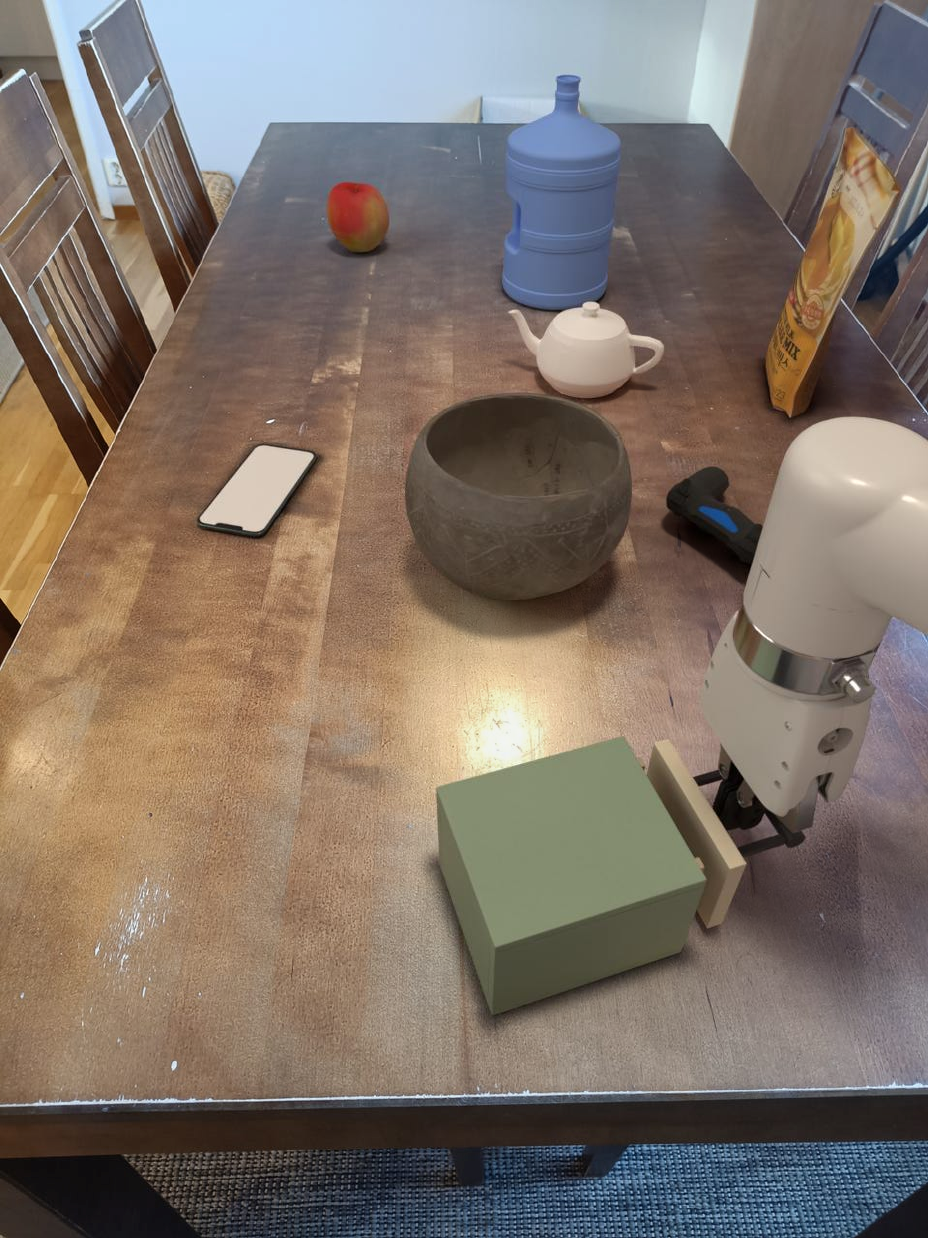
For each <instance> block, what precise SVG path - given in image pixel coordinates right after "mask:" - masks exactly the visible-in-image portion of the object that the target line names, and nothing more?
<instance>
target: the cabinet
mask: <svg viewBox="0 0 928 1238" xmlns="http://www.w3.org/2000/svg"><path fill="white" fill-rule="evenodd" d="M637 758H638V757H637V756H636V754H635V753H634V751H633V749H632V747H631V745H630V743H629V742H628V741H627V739H626V737H625V736H624V735H622V736H618V737H614V738H611V739H607V740H604V741H601V742H600V741H599V742H596V743H593V744H588V745H585V746H581V747H578V748H574V749H571V750H567V751H563V752H560V753H555V754H552V755H549V756H544V757H542V758H537V759H535V760H531V761H527V762H524V763H520V764H515V765H513V766H509V767H505V768H501V769H498V770H494V771H490V772H487V773H482V774H479V775H476V776H471V777H468V778H465V779H460V780H457V781H454V782H450V783H446V784H442V785H439V786H437V787H435V790H436V791H435V799H436V800H435V801H436V821H437V841H438V842H437V843H438V844H437V845H438V862H439V867H440V871H441V872H442V873H441V874H442V875H443V879H444V881H445V885H446V888H447V891H448V893H449V895H450V898H451V902H452V904H453V907H454V911H455V913H456V916H457V919H458V923H459V925H460V927H461V930H462V934H463V937H464V939H465V942H466V945H467V948H468V950H469V954H470V957H471V959H472V962H473V965H474V968H475V971H476V973H477V977H478V980H479V982H480V985H481V989H482V991H483V993H484V994H483V995H484V997H485V1001H486V1003H487V1006H488V1008H489V1011H490V1015H491V1016H496V1015H498V1014H499V1015H500V1014H502V1013H505V1012H509V1011H511V1010H513V1009H517V1008H519V1007H523V1006H525V1005H528V1004H531V1003H534V1002H537V1001H540V1000H544V999H545V998H549V997H552V996H556V995H558V994H561V993H564V992H567V991H570V990H573V989H576V988H580V987H581V986H585V985H589V984H591V983H594V982H597V981H600V980H603V979H606V978H609V977H611V976H615V975H618V974H620V973H624V972H626V971H629V970H632V969H635V968H639V967H641V966H644V965H647V964H650V963H653V962H656V961H659V960H661V959H665V958H667V957H671V956H673V955H677V954H679V953H682V950H683V948H684V945H685V942H686V941H687V937H688V935H689V932H690V929H691V926H692V923H693V920H694V917H695V915H696V912H697V907H698V904H699V901H700V899H701V896H702V893H703V890H704V887H705V884H706V881H707V879H706V877H705V875H704V874H703V872H702V870H701V868H700V867H699V865H698V863H697V861H696V860H695V858H694V856H693V855H692V853H691V851H690V849H689V848H688V846H687V844H686V842H685V841H684V839H683V837H682V836H681V834H680V832H679V830H678V829H677V827H676V825H675V823H674V822H673V820H672V818H671V816H670V815H669V813H668V811H667V810H666V808H665V806H664V804H663V803H662V801H661V799H660V797H659V796H658V794H657V792H656V791H655V789H654V787H653V785H652V784H651V782H650V780H649V778H648V777H647V772H645V770H643V768H642V766H641V765H640V763H639V761H638V759H637Z"/></svg>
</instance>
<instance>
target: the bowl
mask: <svg viewBox="0 0 928 1238" xmlns="http://www.w3.org/2000/svg"><path fill="white" fill-rule="evenodd" d="M632 497H633V478H632V470H631V464H630V459H629V455H628V451H627V449H626V446H625V443H624V441H623V438H622V435H621V433H620V432H619V430H618V429H617V427H615V425H614V424H613V423H612V422H611V421H609V420H607V418H606V417H604V416H603V415H602V414H600V413H599V412H597V410H594V409H593V408H591V407H589V406H587V405H585V404H582V403H580V402H577V401H574V400H572V399H567V398H564V397H561V396H556V395H552V394H544V393H536V392H524V391H523V392H503V393H493V394H486V395H481V396H475V397H471V398H469V399H465V400H463V401H459V402H457V403H454V404H452V405H450V406H448V407H446V408H443V409H442V410H440V411H439V412H438V413H437V414H435V415H433V416H432V417H431V418H430V419H429V420H428V421H427V422H426V424H424V426H423V427H422V429H421V430H420V432H419V434H418V435H417V437H416V439H415V442H414V445H413V447H412V450H411V453H410V457H409V461H408V464H407V468H406V473H405V483H404V502H405V503H404V504H405V510H406V517H407V520H408V523H409V527H410V529H411V532H412V535H413V538H414V540H415V543H416V544H417V547H418V549H419V551H420V552H421V554H422V555H423V556H424V558H425V559H426V560H427V562H428V563H429V564H430V565H431V566H432V567H433V569H434V570H436V571H437V572H438V573H439V574H441V575H442V576H444V578H445V579H447V581H449V582H451V583H452V584H454V585H455V586H457V587H458V588H460V589H462V590H464V591H466V592H469V593H471V594H473V595H476V596H478V597H482V598H486V599H492V600H501V601H517V600H518V601H520V600H531V599H535V598H539V597H543V596H544V597H545V596H549V595H553V594H556V593H560V592H563V591H566V590H568V589H571V588H574V587H575V586H577V585H579V584H581V583H583V581H585V580H587V579H588V578H590V577H591V576H592V575H594V574H595V573H596V572H597V571H598V570H599V569H601V568H602V567H603V565H604V564H605V563H606V562H607V561H608V560H609V558H610V557H611V556H612V555H613V553H614V552H615V550H616V549H617V548H618V546H619V544H620V543H621V541H622V539H623V537H624V536H625V533H626V531H627V527H628V525H629V519H630V515H631V514H630V513H631V507H632Z"/></svg>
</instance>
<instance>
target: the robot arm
mask: <svg viewBox="0 0 928 1238" xmlns="http://www.w3.org/2000/svg"><path fill="white" fill-rule="evenodd" d="M762 526H763V528H762V532H761V535H760V539H759V542H758V546H757V549H756V553H755V557H754V560H753V563H752V564H751V567H750V570H749V573H748V577H747V580H746V583H745V587H744V590H743V594H742V597H741V599H740V600H741V601H740V604H739V607H738V610H737V611H735V613H734V614H733V616H732V617H731V619H730V620H729V621H728V623H727V625H726V627H725V628H724V630H723V631H722V634H721V636H720V638H719V640H718V642H717V644H716V646H715V649H714V651H713V653H712V655H711V658H710V661H709V663H708V666H707V669H706V673H705V676H704V679H703V681H702V682H703V683H702V687H701V691H700V698H699V707H700V711H701V714H702V716H703V718H704V720H705V721H706V724H707V725H708V726H709V728H710V730H711V732H712V733H713V735H714V736H715V737H716V739H717V740H718V742H719V744H720V745H719V746H720V751H719V757H718V761H717V762H718V763H717V770H719V773H720V775H721V777H722V778H723V780H720V783H719V786H718V789H717V792H716V795H715V798H714V801H713V804H712V806H711V807H712V809H713V810H714V812H715V814H716V815H717V817H718V818H719V820H720V822H721V823H722V825H723V826H724V828H725V830H726V831H727V832H731V831H733V830H736V829H740V831H747V830H750V829H753V828H755V827H757V826H759V825H760V824H761V823H762V820H763V817H764V815H765V811H766V810H767V811H771V812H773V813H774V814H776V817H777V818H778V819H779V820H780V821H781V822H782V823H783V824H784V825H785V826H786V827H787V829H788V830H789V831H790V832H792V833H795V832H799V831H802V832H803V831H805V830H808V829H811V828H812V827H813V824H814V817H815V813H816V805H817V799H818V793H819V795H820V797H822V798H823V800H824V801H825V803H826V804H830V803H833V802H836V801H837V800H839V799H840V798H841V797H842V796H843V793H844V792H845V790H846V788H847V785H849V782H850V779H851V777H852V774H853V772H854V769H855V767H856V764H857V761H858V758H859V755H860V754H861V750H862V747H863V743H864V740H865V737H866V734H867V729H868V725H869V721H870V715H871V711H872V710H871V708H872V701H873V695H874V694H875V692H876V689H877V687H876V685H874V683H873V682H872V681H871V680H870V675H869V669H870V667H871V665H872V663H873V661H874V659H875V656H876V654H877V652H878V650H879V647H880V645H881V643H882V641H883V639H884V636H885V634H886V632H887V629H888V628H889V626H890V623H891V622H892V619H893V618H894V619H897V620H899V622H902V623H903V624H905V625H908V626H909V627H911V628H913V629H915V630H916V631H918V632H920V633H922V634H923V635H925V636H927V637H928V439H926V438H925V437H923V436H922V435H921V434H919V433H917V432H915V431H914V430H912V429H910V428H908V427H905V426H903V425H900V424H897V423H894V422H891V421H888V420H884V419H880V418H879V419H878V418H874V417H867V416H840V417H835V418H830V419H826V420H822V421H819V422H817V423H814V424H812V425H810V426H809V427H807V428H806V429H804V430H802V431H801V432H800V433H799V434H798V435H797V436H796V437H795V438H794V440H793V441H792V442H791V443H790V445H789V447H788V448H787V450H786V451H785V454H784V456H783V459H782V462H781V465H780V468H779V471H778V473H777V477H776V482H775V484H774V488H773V491H772V494H771V497H770V501H769V505H768V508H767V512H766V515H765V519H764V522H763V524H762Z"/></svg>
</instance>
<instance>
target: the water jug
mask: <svg viewBox="0 0 928 1238" xmlns="http://www.w3.org/2000/svg"><path fill="white" fill-rule="evenodd" d="M581 81H582V78H581V76H579V75H573V74H561V75H557V76H556V77H555V82H556V90H554V91H555V92H554V97H555V98H554V99H555V100H554V108H553V111H552V112H549V113H548V114H546V115H544V116H542V117H539V118H537V119H535V120H533V121H531V122H528V123H526V124H525V125H522V126H520V127H518V128H516V129H514V130H513V131H511V133H510V134H509V135H508V137H507V141H506V151H505V164H504V165H505V166H504V167H505V192H506V194H507V195H508V196H509V197H510V198H511V199H513V200H512V224H511V225H512V226H511V230H510V231H509V232H508V233H507V235H506V236H505V237H504V241H503V268H502V277H501V284H502V289H503V291H504V292H505V293H506V295H507V296H508V297H509V298H510V299H512V300H514V302H515V301H516V302H518V303H519V304H521V305H524V306H527V307H531V308H535V309H539V310H547V311H565V310H568V309H572V308H579V307H582V305H583V304H584V303H586V302H597V301H599V299H600V298H602V296H603V295H604V294H605V292H606V289H607V286H608V277H609V274H608V270H609V269H608V268H609V259H610V250H611V242H612V237H613V232H614V224H615V223H614V222H615V216H614V214H615V204H616V196H617V187H618V186H617V185H618V178H619V174H620V167H621V160H622V159H621V158H622V153H621V150H622V140H621V139H620V137H619V135H618V134H617V133H616V132H614V131H613V130H611V129H609V128H607V127H606V126H604V125H602V124H600V123H599V122H596V121H595V120H594V119H593V120H592V119H591V118H588V117H587V116H586V115H584V114H581V112H580V111H579V99H580V91H579V90H580V83H581Z"/></svg>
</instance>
